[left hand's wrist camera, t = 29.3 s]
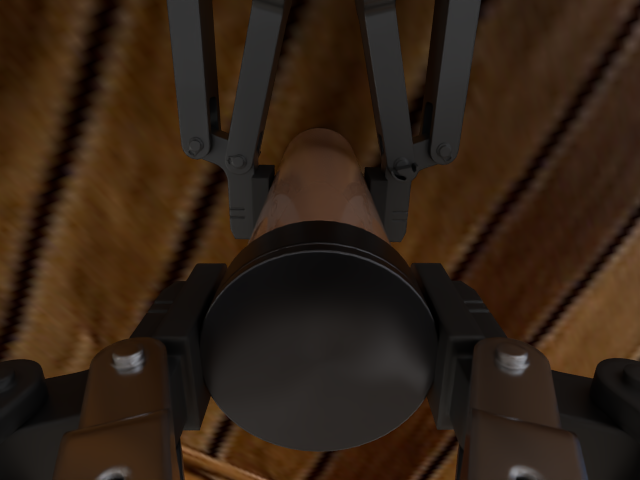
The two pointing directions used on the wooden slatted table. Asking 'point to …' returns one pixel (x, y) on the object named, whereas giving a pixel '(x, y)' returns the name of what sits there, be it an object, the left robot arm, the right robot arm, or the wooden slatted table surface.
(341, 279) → the lid
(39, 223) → the wooden slatted table surface
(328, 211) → the brown rounded cylinder
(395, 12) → the right robot arm
